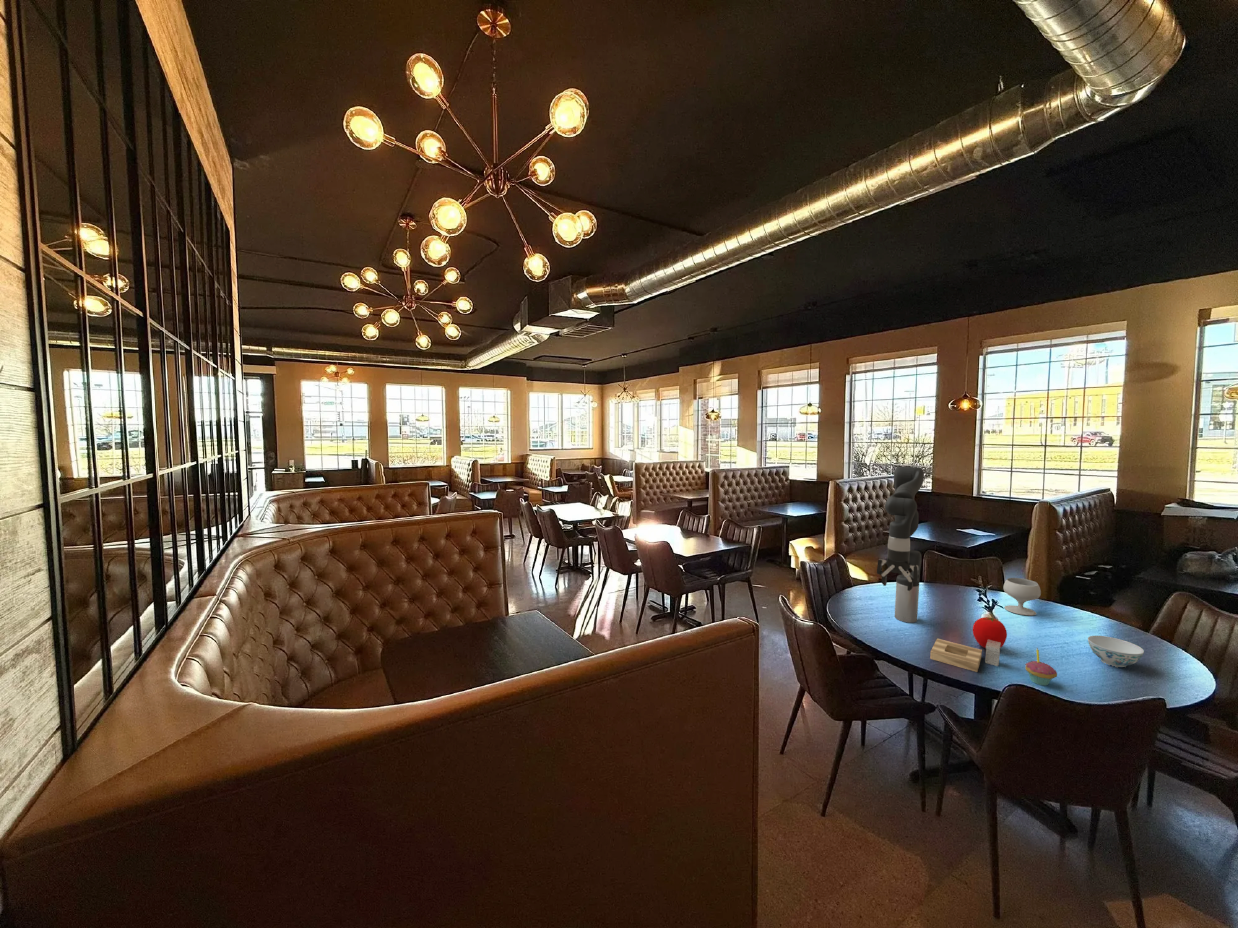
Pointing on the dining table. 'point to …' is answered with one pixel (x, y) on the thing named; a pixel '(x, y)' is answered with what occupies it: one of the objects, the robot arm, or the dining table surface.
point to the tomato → (989, 631)
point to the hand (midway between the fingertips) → (896, 587)
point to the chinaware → (1115, 651)
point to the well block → (956, 654)
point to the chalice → (1021, 594)
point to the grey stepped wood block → (992, 652)
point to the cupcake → (1040, 671)
